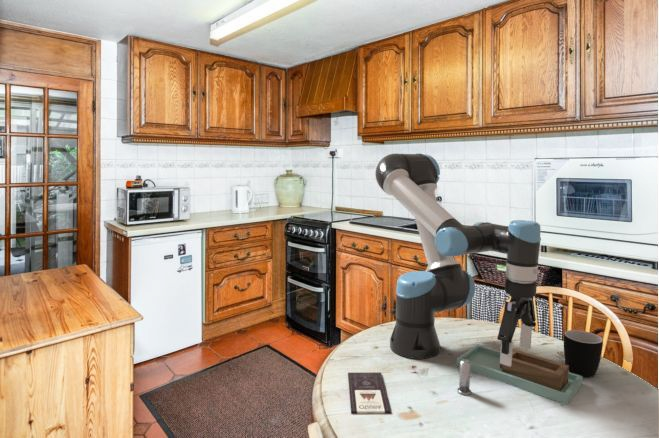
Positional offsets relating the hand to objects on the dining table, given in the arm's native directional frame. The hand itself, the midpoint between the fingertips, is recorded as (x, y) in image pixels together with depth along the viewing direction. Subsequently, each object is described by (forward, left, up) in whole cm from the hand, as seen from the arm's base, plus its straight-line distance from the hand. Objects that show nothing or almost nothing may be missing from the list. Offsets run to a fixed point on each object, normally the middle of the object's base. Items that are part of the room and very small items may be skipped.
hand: (515, 355), depth 110 cm
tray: (+1, 0, -5) cm, 5 cm away
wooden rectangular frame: (+5, 0, -4) cm, 7 cm away
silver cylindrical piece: (-5, -18, -5) cm, 20 cm away
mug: (+12, +15, -5) cm, 19 cm away
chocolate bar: (-23, -35, -6) cm, 42 cm away
